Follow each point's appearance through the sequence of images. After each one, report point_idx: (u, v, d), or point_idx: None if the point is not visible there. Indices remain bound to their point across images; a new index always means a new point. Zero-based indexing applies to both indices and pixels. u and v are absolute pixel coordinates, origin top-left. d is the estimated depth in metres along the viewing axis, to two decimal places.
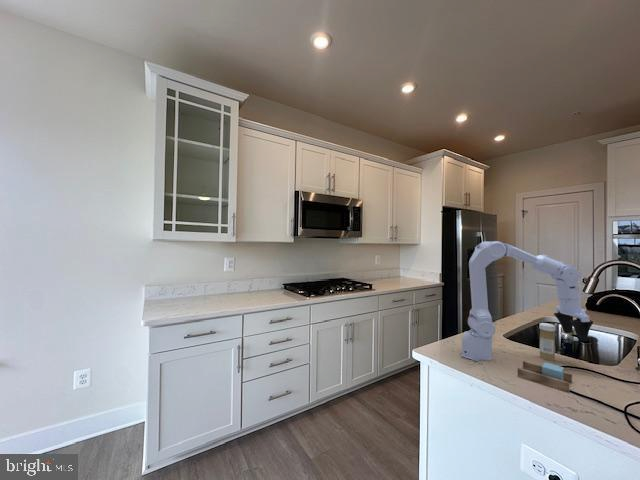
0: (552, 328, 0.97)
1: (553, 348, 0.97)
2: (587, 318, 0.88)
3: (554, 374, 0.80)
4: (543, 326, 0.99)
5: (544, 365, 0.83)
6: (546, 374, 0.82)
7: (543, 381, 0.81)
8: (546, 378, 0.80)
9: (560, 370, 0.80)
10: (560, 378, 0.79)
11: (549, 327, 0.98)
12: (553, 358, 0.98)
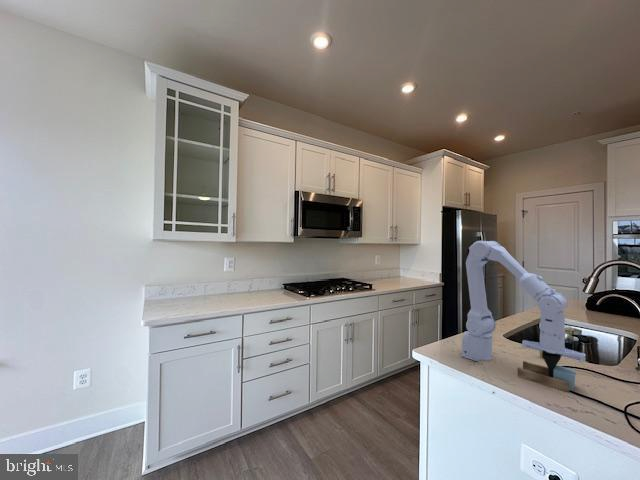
0: None
1: None
2: None
3: (566, 377, 0.78)
4: None
5: (556, 368, 0.81)
6: (557, 377, 0.80)
7: (543, 381, 0.81)
8: (546, 378, 0.80)
9: (573, 373, 0.78)
10: (572, 382, 0.77)
11: None
12: None
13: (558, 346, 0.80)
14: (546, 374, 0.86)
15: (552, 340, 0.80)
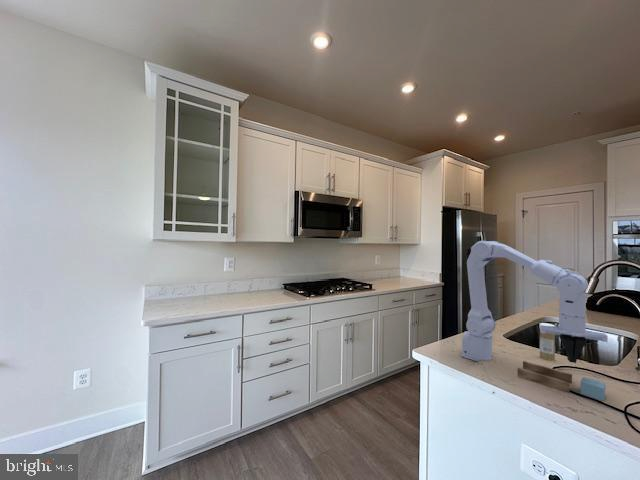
0: None
1: (553, 348, 0.97)
2: (541, 329, 0.82)
3: (597, 396, 0.74)
4: None
5: (604, 387, 0.74)
6: (593, 389, 0.74)
7: (543, 381, 0.81)
8: (546, 378, 0.80)
9: None
10: None
11: None
12: (553, 358, 0.98)
13: (583, 328, 0.77)
14: (546, 374, 0.86)
15: (577, 323, 0.77)
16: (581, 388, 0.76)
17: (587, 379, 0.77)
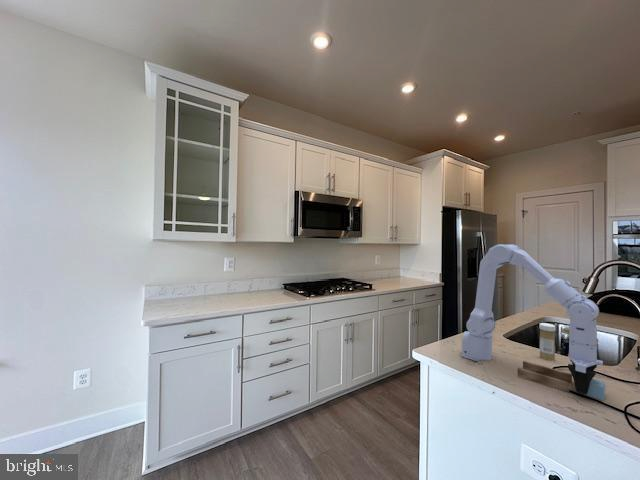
0: (552, 328, 0.97)
1: (553, 348, 0.97)
2: (582, 368, 0.72)
3: (597, 396, 0.74)
4: (543, 326, 0.99)
5: (604, 386, 0.74)
6: (593, 388, 0.74)
7: (543, 381, 0.81)
8: (546, 378, 0.80)
9: None
10: None
11: (549, 327, 0.98)
12: (553, 358, 0.98)
13: None
14: (546, 374, 0.86)
15: (596, 349, 0.76)
16: None
17: None
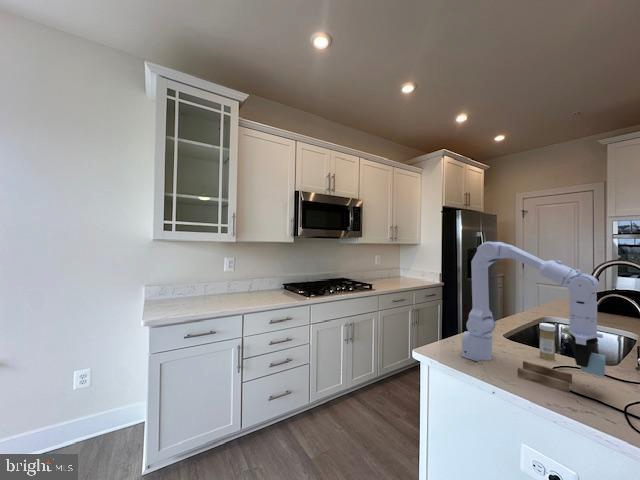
0: (552, 328, 0.97)
1: (553, 348, 0.97)
2: (583, 340, 0.72)
3: (597, 368, 0.74)
4: (543, 326, 0.99)
5: (604, 359, 0.74)
6: (593, 361, 0.74)
7: (543, 381, 0.81)
8: (546, 378, 0.80)
9: (604, 373, 0.74)
10: (593, 372, 0.74)
11: (549, 327, 0.98)
12: (553, 358, 0.98)
13: None
14: (546, 374, 0.86)
15: (596, 323, 0.76)
16: None
17: None
